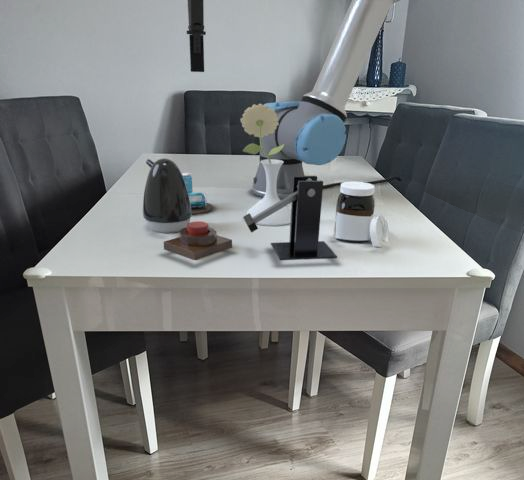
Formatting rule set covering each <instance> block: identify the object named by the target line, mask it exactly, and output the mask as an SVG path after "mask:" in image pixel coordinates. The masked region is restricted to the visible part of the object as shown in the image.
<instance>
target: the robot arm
mask: <svg viewBox="0 0 524 480" xmlns="http://www.w3.org/2000/svg"><path fill="white" fill-rule="evenodd" d="M400 1H401V0H351V2H350V5H349V7H348V8H347V11H346V13H345V16H344V18H343V20H342V23H341V25H340V27H339V30H338V32H337V33H336V36H335V38H334V41H333V43H332V45H331V47H330V50H329V52H328V54H327V57H326V59H325V61H324V64H323V66H322V68H321V70H320V73H319V75H318V77H317V79H316V81H315V84H314V87H313V89H312V90H311V91H310V92H308V93H304V94H303V96H302V98H301V99H300V101H279V102H278V101H277V102H267V103H264V104H262V105H263V106H265V105H268V107H269V108H271V109H274V110H275V113H276V114H277V117H278V123H279V125H278V126H276V127H277V128H276V129H275V130H274V133H273V134H268V136H263V137H261V143H262V146H263V149H264V150H265V152H266V154H267V155H268V153H269V152H270V151H271V149H273V148H275V147H279V146H281V145H283V144H284V143H285V144H284V147H283V148H282V149H281V150H280V151H279V152H278V153H276V154H272V155H268V157H269V159H276V160H282V161H284V163H283V164H282V165H281V167H280V169H279V172H278V176H277V184H276V192H277V196H278V198H279V199H280V200H283V199H284V198H286V197H288V196H289V195H291V194H292V186H293V176H306V175H305V171H304V167H303V164H305V165H313V166H324V165H327V164H329V163H331V162H332V161H334V160H335V159H336V158H337V157H338V156H339V155H340V154H341V152H342V151H343V149H344V146H345V143H346V140H347V134H346V131H347V129H346V125H345V122H346V120H347V117H348V114H347V112H346V105H347V102H348V101H349V98H350V96H351V94H352V92H353V89H354V87H355V85H356V83H357V81H358V79H359V76H360V75H361V72H362V70H363V68H364V65H365V64H366V61H367V59H368V57H369V54H370V52H371V50H372V48H373V46H374V43H375V42H376V40H377V37H378V35H379V33H380V30H381V28H382V26H383V24H384V21H385V19H386V17H387V15H388V13H389V11H390V9H391V6H392V5H394V4H395V3H398V2H400ZM204 7H205V5H204V0H187V15H188V16H187V17H188V25H187V29H188V30H186V35H188V37H189V62H190V73H192V72H193V73H205V54H204V53H205V44H204V36H206V34H207V33H206V31H204V30H205V21H204V19H205V17H204V15H205V14H204V13H205V12H204ZM269 108H268V109H269ZM259 146H260V147H261V145H260V144H259ZM266 159H268V158H267V157H266V155H265V153H264V152H263V150H262V148H261V150H260V151H259V161H258V167H257V170H256V173H255V176H254V177H253V179H252V181H253V183H252V187H251V189H252V190H251V192H252V194H253V195H255V196H257V197H260V198H263V197H264V196H265V193H266V173H265V169H264V167H263V165H262V163H261V160H266ZM393 180H397V181H398V182H402V181H403V179H402V178H401V177H400V176H398V175H393V176H391V177H388V178H384V179H379V180H372V181H363V182H364V183H369V184H372V185H378V184H382V183H389V182H391V181H393ZM344 182H345V181H343V182H342V181H341V182H334V183H328V184H323V189H328V188H333V187H341V184H342V183H344Z"/></svg>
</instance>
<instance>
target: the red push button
mask: <svg viewBox="0 0 524 480" xmlns="http://www.w3.org/2000/svg"><path fill="white" fill-rule="evenodd" d="M208 227H209V223H208V222H206V221H190V222H189V223H188V224H187V234H190V235H205V234H208Z"/></svg>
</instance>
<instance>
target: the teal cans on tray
mask: <svg viewBox="0 0 524 480" xmlns="http://www.w3.org/2000/svg"><path fill="white" fill-rule="evenodd" d="M180 172H181V174H182V176H183V179H184V181H185V184H186V187H187V190H188V194H189V198H190V203H191V209H192V216H197V215H204V214H208V213H210V212H211V211H212V210H213V206H212V204H210V203H208V201H207V195H206V193H205V192H201V191H199V192H193V176H192V173H191V172H189V171H188V172H187V171H180Z"/></svg>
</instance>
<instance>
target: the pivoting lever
mask: <svg viewBox="0 0 524 480" xmlns="http://www.w3.org/2000/svg"><path fill="white" fill-rule="evenodd" d="M305 181H313V180H312V179H310V178H308V179H307V180H305ZM297 188H298V185H297ZM296 199H297V191H296V192H294V193H293V194H291V195H289V196H288V197H286V198H284V199H280V200H281V201H279V202H277V203H276V204H274V205H272V206H271V207H269V208H267V209H266V210H264V211H262V212H261V213H259V214H257V215H256V216H254V217H251V215H250V213H249V214H247V215H246V214H245V215H244V216H242V218H243V220H244V222H245V224H246V226H247V227H248V229H249V231H250V233H253V232H256V231H257V230H258V229H259V227H258V225H257V224H256V223H258V222H259V221H261V220H263V219H264V218H266V217H268V216H269V215H271V214H273V213H274V212H276V211H278V210H279V209H281V208H283V207H284V206H286V205H287V206H288V205H290V204H292V202H293V201H295V200H296Z"/></svg>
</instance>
